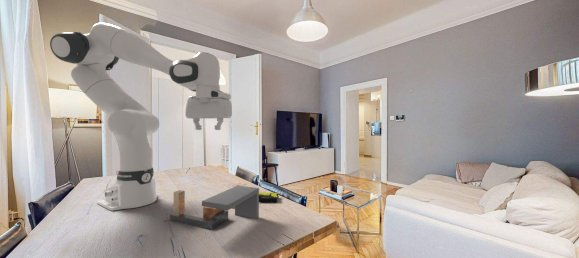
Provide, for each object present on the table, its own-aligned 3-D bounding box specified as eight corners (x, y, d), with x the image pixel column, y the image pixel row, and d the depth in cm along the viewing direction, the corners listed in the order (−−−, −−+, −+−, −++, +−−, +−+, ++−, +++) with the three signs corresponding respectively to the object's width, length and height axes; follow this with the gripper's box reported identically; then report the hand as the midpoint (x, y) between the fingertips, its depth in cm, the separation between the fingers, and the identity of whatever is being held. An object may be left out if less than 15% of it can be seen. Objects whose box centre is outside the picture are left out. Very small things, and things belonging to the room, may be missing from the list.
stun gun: (276, 203, 83) (279, 192, 98) (227, 202, 83) (237, 191, 98) (276, 211, 83) (278, 198, 98) (227, 210, 83) (237, 197, 98)
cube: (203, 221, 72) (203, 206, 72) (213, 215, 77) (213, 202, 77) (214, 223, 70) (215, 209, 70) (224, 218, 75) (224, 204, 75)
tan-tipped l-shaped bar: (169, 220, 72) (169, 191, 72) (188, 211, 80) (188, 185, 80) (211, 229, 66) (212, 198, 66) (228, 219, 74) (228, 190, 73)
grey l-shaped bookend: (201, 236, 62) (201, 201, 62) (237, 213, 78) (237, 185, 78) (227, 242, 58) (227, 205, 58) (258, 217, 75) (258, 188, 75)
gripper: (181, 95, 84) (181, 129, 84) (224, 92, 77) (223, 130, 77) (193, 97, 90) (193, 129, 90) (234, 95, 83) (234, 130, 83)
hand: (207, 129), depth 83 cm, fingers open, 8 cm apart
